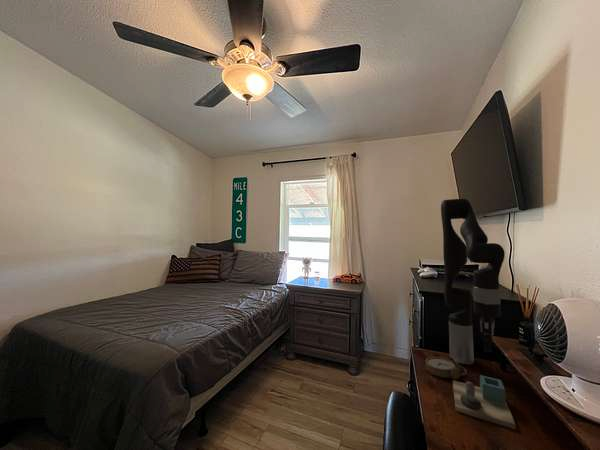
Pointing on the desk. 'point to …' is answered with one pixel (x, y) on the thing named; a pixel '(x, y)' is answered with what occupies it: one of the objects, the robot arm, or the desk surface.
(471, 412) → the post board
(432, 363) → the alarm clock
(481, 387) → the teal square frame
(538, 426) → the desk surface
